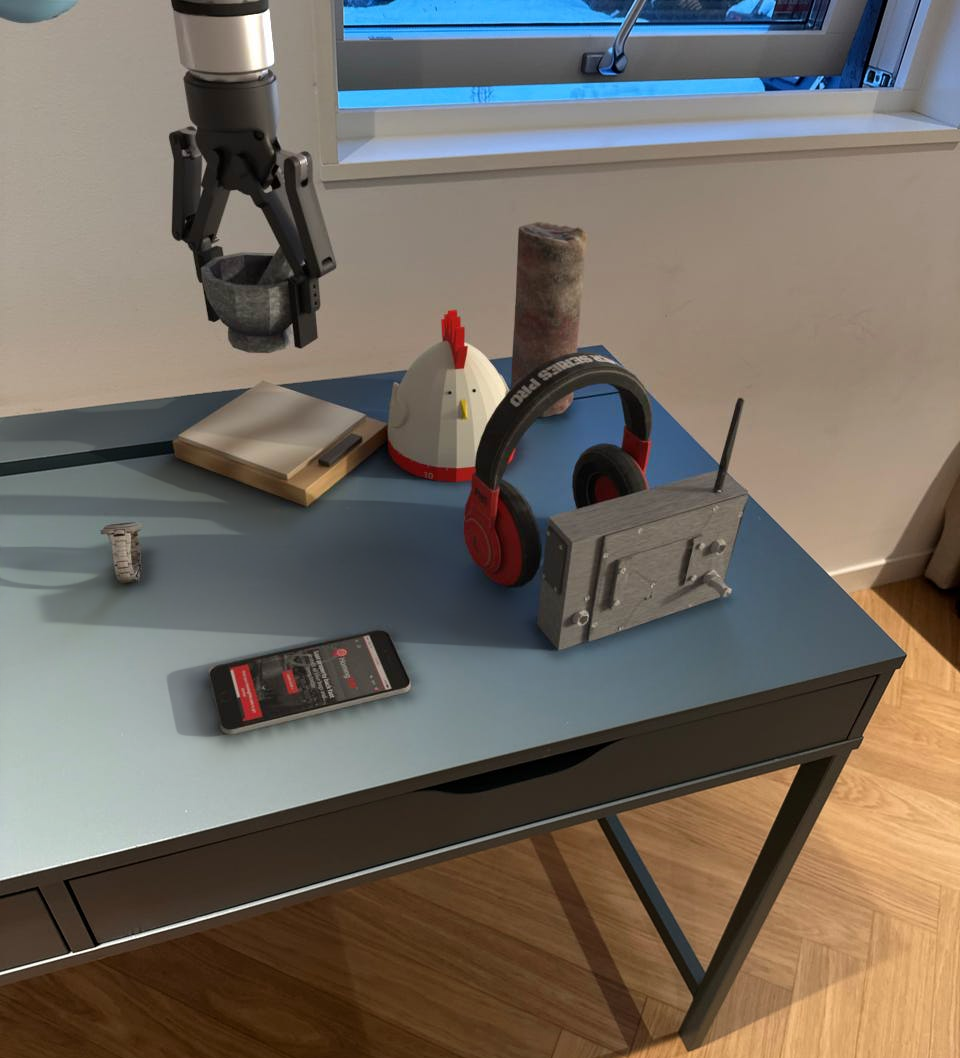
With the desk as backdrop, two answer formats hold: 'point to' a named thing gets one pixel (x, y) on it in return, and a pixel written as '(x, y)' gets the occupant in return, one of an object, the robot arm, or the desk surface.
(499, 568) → the headphones
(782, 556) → the desk surface
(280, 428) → the scale
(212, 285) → the mortar and pestle
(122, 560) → the wristwatch
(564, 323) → the brown stone cylinder
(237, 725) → the smartphone
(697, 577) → the electronic device
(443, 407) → the kitchen timer
